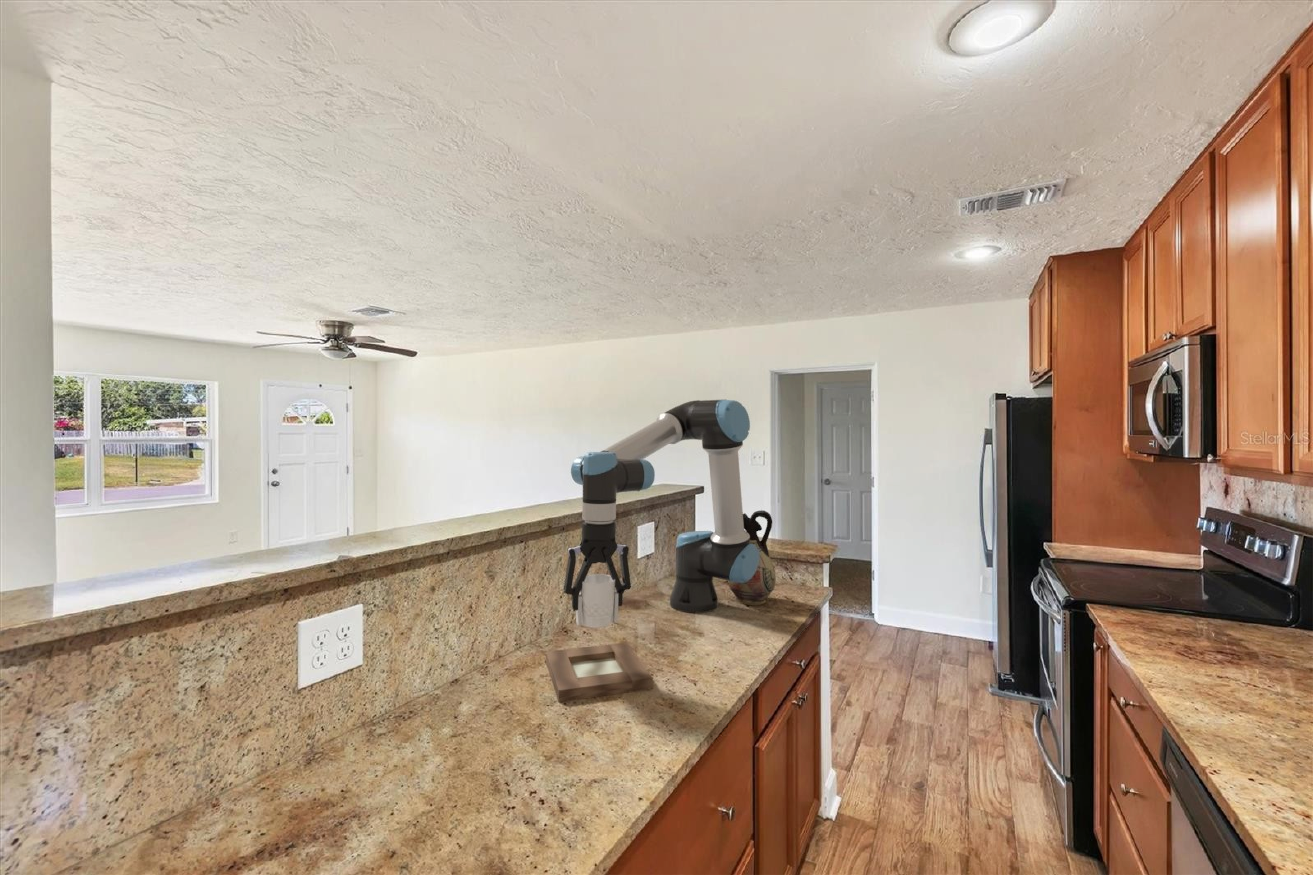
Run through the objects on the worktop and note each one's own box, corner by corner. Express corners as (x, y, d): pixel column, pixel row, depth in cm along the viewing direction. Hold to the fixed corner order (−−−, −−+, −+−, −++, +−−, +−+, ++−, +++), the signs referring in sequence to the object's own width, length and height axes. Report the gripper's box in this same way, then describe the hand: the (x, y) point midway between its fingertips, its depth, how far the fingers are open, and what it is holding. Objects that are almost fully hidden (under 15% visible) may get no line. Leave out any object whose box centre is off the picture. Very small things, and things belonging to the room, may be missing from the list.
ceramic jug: (723, 606, 174) (725, 511, 173) (731, 592, 188) (732, 504, 188) (778, 612, 169) (780, 514, 168) (781, 597, 183) (784, 507, 183)
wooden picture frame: (627, 652, 137) (627, 642, 137) (652, 688, 118) (652, 677, 118) (545, 661, 131) (545, 651, 130) (558, 702, 112) (558, 690, 112)
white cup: (597, 632, 118) (598, 585, 118) (571, 623, 123) (572, 579, 123) (621, 622, 125) (622, 578, 125) (596, 614, 130) (597, 572, 129)
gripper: (637, 516, 130) (635, 612, 131) (550, 519, 124) (548, 620, 124) (647, 522, 123) (645, 623, 124) (555, 525, 117) (553, 632, 117)
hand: (597, 622), depth 124 cm, fingers closed on white cup, 7 cm apart
